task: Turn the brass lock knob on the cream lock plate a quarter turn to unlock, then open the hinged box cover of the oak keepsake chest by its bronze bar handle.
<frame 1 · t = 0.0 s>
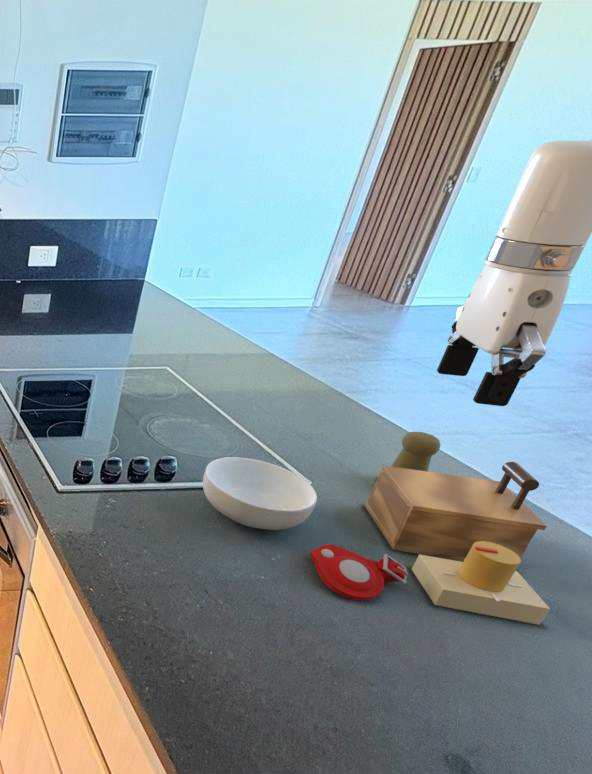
hand: (469, 388, 80), 31 cm above the worktop, tool pointing down, fingers open, 9 cm apart
lock plate: (472, 595, 90), on the worktop
hinged box cover: (464, 480, 97), point 11 cm above the worktop, hinge at 0.0°
chest: (433, 536, 102), on the worktop
tracker holder: (356, 583, 93), on the worktop
cork: (401, 487, 116), on the worktop
cereal bowl: (248, 515, 108), on the worktop
lock knob: (489, 565, 87), point 6 cm above the worktop, hinge at 0.0°
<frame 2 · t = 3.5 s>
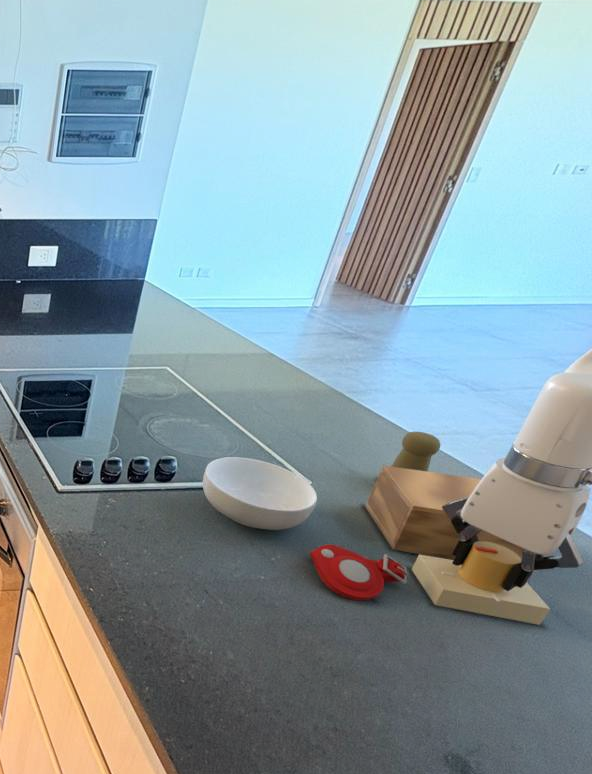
hand: (484, 573, 88), 4 cm above the worktop, tool pointing down, fingers closed on lock knob, 5 cm apart
lock knob: (489, 565, 87), point 6 cm above the worktop, hinge at -0.1°, touching gripper
everything else where it was.
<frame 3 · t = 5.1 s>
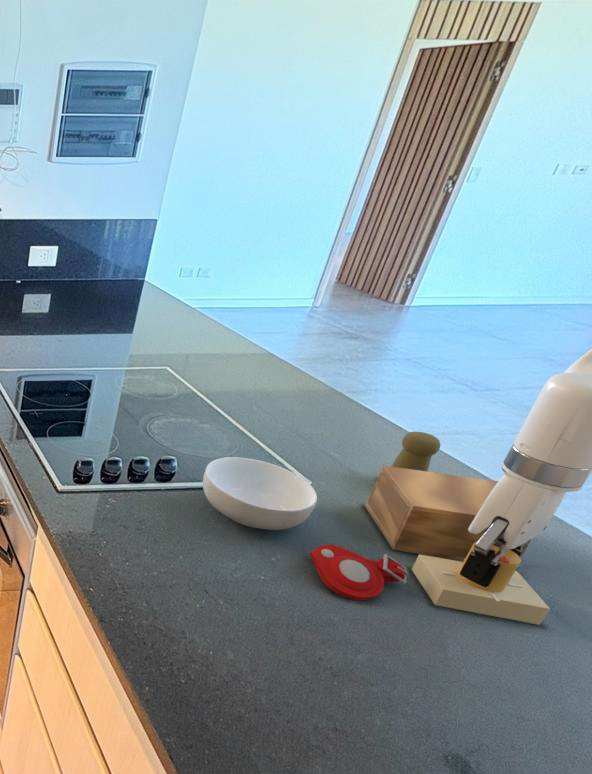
hand: (484, 573, 88), 4 cm above the worktop, tool pointing down, fingers closed on lock knob, 5 cm apart
lock knob: (489, 565, 87), point 6 cm above the worktop, hinge at 89.6°, touching gripper
everything else where it was.
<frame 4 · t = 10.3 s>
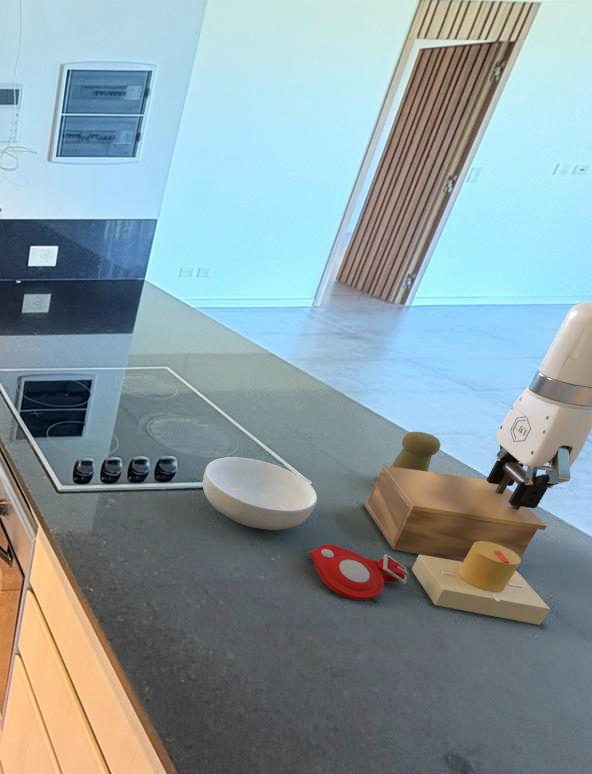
hand: (510, 493, 96), 10 cm above the worktop, tool pointing down, fingers closed on hinged box cover, 5 cm apart
hinged box cover: (464, 480, 97), point 11 cm above the worktop, hinge at 0.0°, touching gripper
lock knob: (489, 565, 87), point 6 cm above the worktop, hinge at 89.9°
everything else where it was.
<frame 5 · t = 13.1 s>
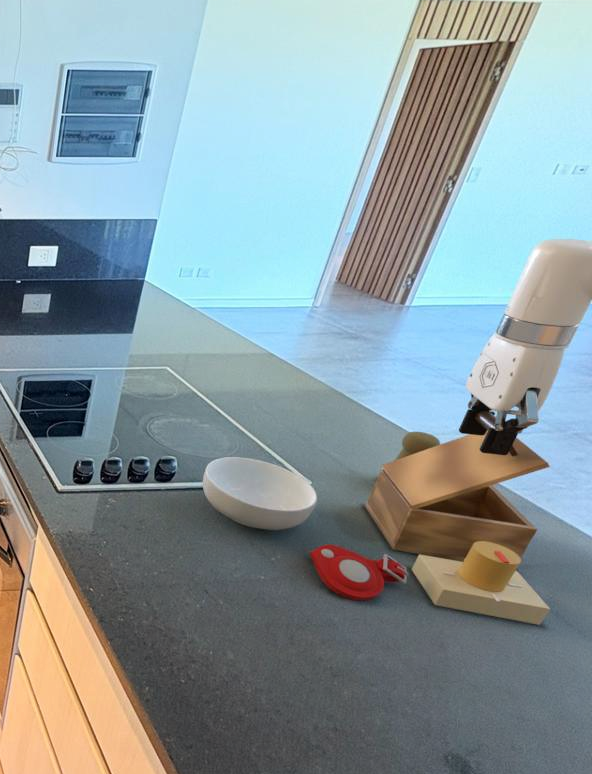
hand: (482, 442, 94), 18 cm above the worktop, tool pointing down, fingers closed on hinged box cover, 5 cm apart
hinged box cover: (449, 452, 96), point 16 cm above the worktop, hinge at 38.9°, touching gripper
everything else where it was.
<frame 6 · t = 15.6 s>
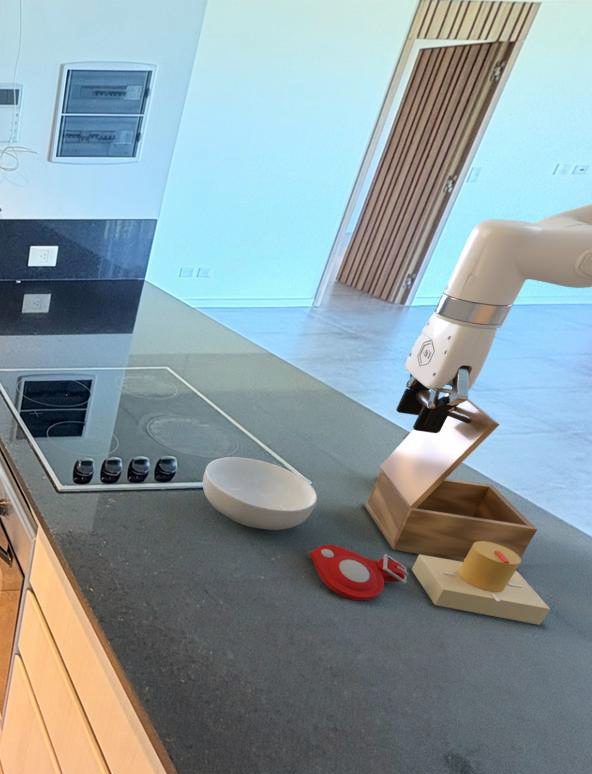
hand: (416, 420, 96), 20 cm above the worktop, tool pointing down, fingers closed on hinged box cover, 5 cm apart
hinged box cover: (415, 440, 97), point 17 cm above the worktop, hinge at 72.6°, touching gripper
everything else where it was.
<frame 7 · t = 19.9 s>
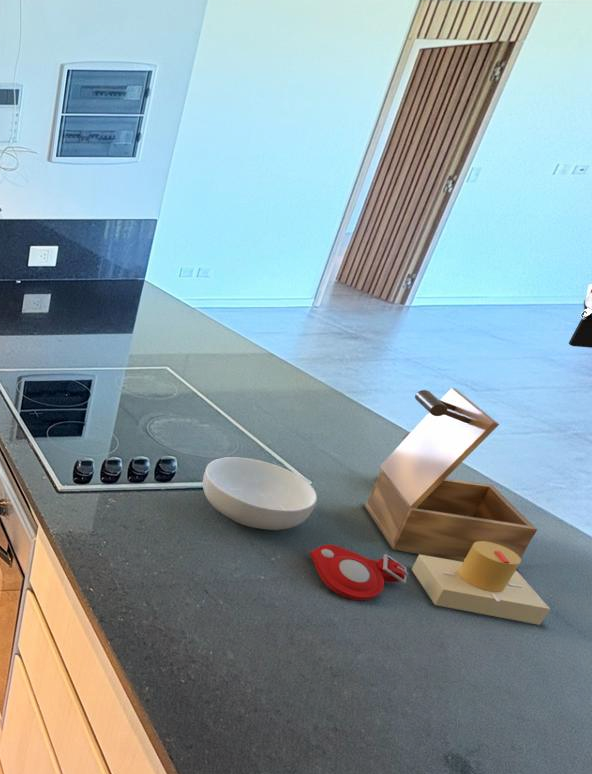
hinged box cover: (415, 440, 97), point 17 cm above the worktop, hinge at 72.8°
everything else where it was.
at the end: lock knob at +90° (first picture: +0°); hinged box cover at +73° (first picture: +0°) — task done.
